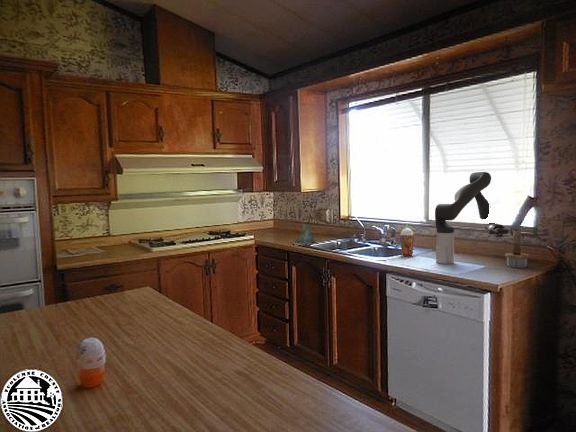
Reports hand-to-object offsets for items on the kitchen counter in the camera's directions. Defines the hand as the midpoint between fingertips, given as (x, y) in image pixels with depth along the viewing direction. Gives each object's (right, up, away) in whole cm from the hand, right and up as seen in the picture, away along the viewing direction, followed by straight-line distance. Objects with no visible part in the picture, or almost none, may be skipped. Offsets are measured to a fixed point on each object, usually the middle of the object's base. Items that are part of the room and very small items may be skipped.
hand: (506, 233), depth 242 cm
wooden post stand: (0, -12, -11) cm, 16 cm away
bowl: (0, -17, -11) cm, 20 cm away
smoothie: (-47, -15, +31) cm, 58 cm away
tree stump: (-109, -12, +99) cm, 148 cm away
